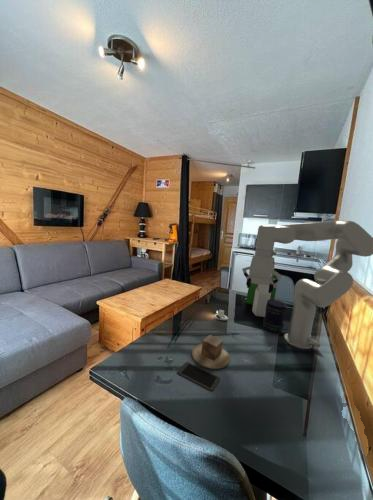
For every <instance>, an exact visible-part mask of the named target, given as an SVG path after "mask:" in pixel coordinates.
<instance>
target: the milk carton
mask: <svg viewBox="0 0 373 500" xmlns="http://www.w3.org/2000/svg"><path fill="white" fill-rule="evenodd" d="M268 291H269V286H268V285H260V284H258V287H257V288H256V291H255V297H254V302H253V305H252V309H251V311H252V314H254V316H256V317H263V318H264V317H265V314H266V305H267V300H270V296H271V293H268Z"/></svg>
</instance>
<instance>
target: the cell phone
mask: <svg viewBox="0 0 373 500" xmlns="http://www.w3.org/2000/svg"><path fill="white" fill-rule="evenodd" d="M176 374H177V375H179V376H180V377H182V378H185V379H187V380H188V381H190V382H192V383H195V384H196V385H198V386H200V387H201V388H204V389H205V390H208V391H210V392H214V391H215V389H216V387H217V386H218V385H219V383H220V380H221V378H220V376H218V375H216V374H214V373H211V372H210V371H207V370H205V369H204V368H201V367H199V366H196V364H193V363H191V362H188V361H186V362H184V363H183V365H182V366H181V367H180V368H179V369H178V370H177V372H176Z"/></svg>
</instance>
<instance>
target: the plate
mask: <svg viewBox="0 0 373 500" xmlns="http://www.w3.org/2000/svg"><path fill="white" fill-rule="evenodd" d="M201 350H202V343H199V344H197V345H195V346H194V347H193V348H192V351H191V353H192V354H191V355H192V358H193V360H194V361H195V362H196V363H197V364H199V365H200V366H202V367H204V368H207V369H211V370H221V369H224V368H225V367H227V366H228V365H229V364H230V359H231V358H230V354H229V353H228V352H227V350H225V349H224V348H223V347H222V351H221V355H220V356H219V357H218V358H217V359H216V360H215V361H213V360H211V359H209V358H207V357H205V356H203V355H201Z"/></svg>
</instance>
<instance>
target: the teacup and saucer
mask: <svg viewBox="0 0 373 500" xmlns="http://www.w3.org/2000/svg"><path fill="white" fill-rule="evenodd" d="M217 316H218V317H217ZM213 317H214V318H215V319H217V320H219V321H227V320H228V319H229V318H228V316H227V315H225V310H223V309H218V313H215V314H214V315H213Z"/></svg>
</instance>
